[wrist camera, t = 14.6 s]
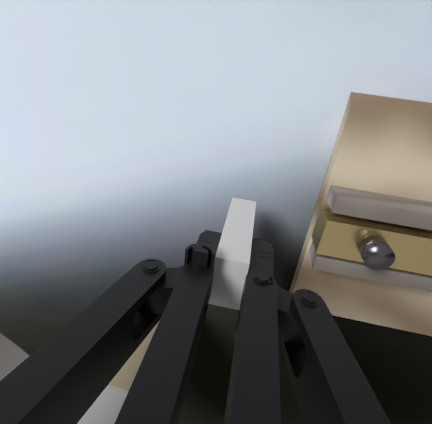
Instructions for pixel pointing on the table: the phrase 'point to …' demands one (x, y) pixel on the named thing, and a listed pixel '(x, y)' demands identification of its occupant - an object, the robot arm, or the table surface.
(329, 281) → the dock
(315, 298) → the robot arm
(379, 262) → the bar
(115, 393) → the coffee cup
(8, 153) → the table surface
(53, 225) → the table surface
